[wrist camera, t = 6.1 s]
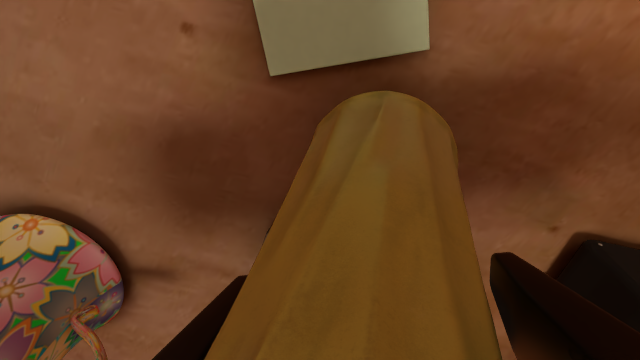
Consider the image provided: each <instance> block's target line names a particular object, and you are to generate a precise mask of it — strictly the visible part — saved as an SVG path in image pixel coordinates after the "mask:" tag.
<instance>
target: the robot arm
mask: <svg viewBox="0 0 640 360" xmlns="http://www.w3.org/2000/svg"><path fill="white" fill-rule="evenodd" d="M247 276H248V275H244V276H238V277H237V278H236V279H235V280H234V281H233V282H231V283H230V284H229V285H228V286H227V287H226V288H225V289H224V290H223V291H222V292H221V293H220V294H219V295H218V296H217V297H216V298H215V299H214V300H213V301H212V302H211V303H210V304H209V305H208V306H207V307H206V308H205V309H204V310H203V311H201V312H200V313H199V314H198V315H197V316H196V317H195V318H194V319H193V320H192V321H191V322H190V323H189V324H188V325H187V326H186V327H185V328H184V329H183V330H182V331H181V332H180V333H179V334H178V335H177V336H176V337H175V338H174V339H173V340H171V341H170V342H169V343H168V344H167V345H166V346H165V347H164V348H163V349H162V350H161V351H160V352H159V353H158V354H157V355H156V356H155V357H154V358H153V359H152V360H204V359H205V357H206V355H207V354H208V352H209V350H210V348H211V346H212V344H213V342H214V340H215V338H216V337H217V335H218V333H219V331H220V329H221V327H222V325H223V324H224V322H225V320H226V318H227V316H228V314H229V312H230V310H231V308H232V306H233V304H234V302H235V300H236V298H237V296H238V294H239V292H240V290H241V288H242V286H243V284H244V282H245V280H246V278H247ZM490 286H491V290H492V293H493V296H494V298H495V301H496V304H497V307H498V310H499V313H500V315H501V318H502V321H503V324H504V327H505V329H506V332H507V335H508V338H509V341H510V343H511V346H512V349H513V351H514V353H515V356H516V358H517V360H640V333H639V332H638V331H636V330H635V329H633V328H631V327H630V326H628V325H627V324H625V323H623V322H622V321H620V320H619V319H617V318H615V317H614V316H612V315H611V314H609V313H607V312H606V311H604V310H603V309H601V308H599V307H598V306H596V305H595V304H593V303H591V302H590V301H588V300H587V299H585V298H583V297H582V296H580V295H579V294H577V293H576V292H574V291H572V290H571V289H569V288H568V287H566V286H564V285H563V284H561V283H560V282H558V281H556V280H555V279H553V278H552V277H550V276H548V275H547V274H545V273H544V272H542V271H540V270H539V269H537V268H536V267H534V266H532V265H531V264H529V263H528V262H526V261H524V260H523V259H521V258H520V257H518V256H516V255H515V254H513V253H511V252H504V253H494V254H493V255H492V257H491V266H490Z"/></svg>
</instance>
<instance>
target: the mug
mask: <svg viewBox="0 0 640 360" xmlns="http://www.w3.org/2000/svg"><path fill="white" fill-rule="evenodd" d="M123 299H124V287H123V281H122V278H121V275H120V272H119V270H118V268H117V266H116V265H115V263H114V262H113V260H112V259H111V258H110V256H109V255H108V254H107V253H106V252H105V251H104V250H103V249H102V248H101V247H100V246H99V245H98V244H97V243H96V242H95V241H93V240H92V239H91V238H89V237H88V236H87V235H85V234H84V233H82V232H80V231H79V230H77V229H75V228H73V227H71V226H69V225H67V224H65V223H63V222H60V221H58V220H55V219H51V218H48V217H44V216H39V215H33V214H8V215H3V216H0V360H62V358H63V357H64V356H65V355H66V354H67V353H68V352H69V351H70V350H71V349H72V348H73V347H74V346H75V345H76V344H77V343H78V342H79V341H81V340H82V339H84V340H85V341H86V342H87V343H88V344H89V346H90V347H91V348H92V350H93V352H94V355H95V358H96V360H108V359H107V355H106V352H105V349H104V347H103V345H102V343H101V341H100V340H99V338H98V337H97V335H96V334H95V333H94V332H93V331H94V330H95V329H97V328H99V327H101V326H103V325H104V324H106V323H108V322H109V321H110V320H111V319H113V318H114V317H115V316H116V315H117V313H118V312H119V310H120V308H121V306H122V303H123Z"/></svg>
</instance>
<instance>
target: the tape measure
mask: <svg viewBox="0 0 640 360" xmlns="http://www.w3.org/2000/svg"><path fill="white" fill-rule="evenodd" d="M556 281H558V282H560V283H561V284H563V285H564V286H566V287H568V288H569V289H571V290H572V291H574V292H576V293H577V294H579V295H580V296H582V297H583V298H585V299H587V300H588V301H590V302H591V303H593V304H595V305H596V306H598V307H599V308H601V309H603V310H604V311H606V312H607V313H609V314H611V315H612V316H614V317H615V318H617V319H619V320H620V321H622V322H623V323H625V324H627V325H628V326H630V327H631V328H633V329H635V330H636V331H638V332H639V333H640V250H637V249H633V248H629V247H624V246H620V245H616V244H610V243H607V242H602V241H597V240H586V241H585V242H584V243H583V244H582V246H581V247H580V248H579V250H578V251H577V252H576V254H575V255H574V257H573V258H572V259H571V261H570V262H569V263H568V265H567V266H566V267H565V269H564V270H563V272H562V273H561V274H560V276H559V277H558V278H557V280H556Z"/></svg>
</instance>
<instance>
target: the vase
mask: <svg viewBox="0 0 640 360" xmlns="http://www.w3.org/2000/svg"><path fill="white" fill-rule="evenodd" d="M204 360H502V356H501V352H500V348H499V344H498V339H497V335H496V331H495V327H494V323H493V319H492V315H491V311H490V307H489V304H488V300H487V297H486V293H485V289H484V285H483V281H482V277H481V272H480V268H479V264H478V259H477V255H476V251H475V247H474V243H473V238H472V233H471V228H470V224H469V220H468V215H467V211H466V207H465V203H464V198H463V194H462V190H461V186H460V182H459V178H458V151H457V146H456V142H455V139H454V136H453V133H452V131H451V128H450V127H449V125H448V124H447V122H446V121H445V120H444V119H443V118H442V117H441V116H440V115H439V114H438V113H437V112H436V111H435V110H434V109H433V108H431V107H430V106H429V105H428V104H426V103H425V102H423V101H421V100H419V99H418V98H415V97H413V96H410V95H407V94H403V93H399V92H394V91H373V92H368V93H363V94H359V95H356V96H353V97H351V98H349V99H346V100H344V101H343V102H342V103H340V104H339V105H337V106H336V107H335V108H334V109H333V110H332V111H331V112H330V113H328V114H327V115H326V116H325V117H324V118H323V119H322V120H321V121H320V122H319V124H318V126H317V128H316V130H315V133H314V135H313V138H312V141H311V144H310V147H309V149H308V151H307V153H306V155H305V157H304V159H303V161H302V163H301V165H300V167H299V170H298V172H297V174H296V176H295V178H294V180H293V183H292V185H291V187H290V189H289V191H288V193H287V195H286V197H285V200H284V202H283V204H282V206H281V208H280V210H279V212H278V214H277V216H276V218H275V220H274V223H273V225H272V227H271V229H270V231H269V233H268V235H267V237H266V239H265V241H264V244H263V246H262V248H261V250H260V252H259V254H258V256H257V258H256V260H255V262H254V264H253V266H252V268H251V270H250V272H249V274H248V276H247V278H246V280H245V282H244V284H243V286H242V288H241V290H240V292H239V294H238V296H237V298H236V300H235V302H234V304H233V306H232V308H231V310H230V312H229V314H228V316H227V318H226V320H225V322H224V324H223V325H222V327H221V329H220V331H219V333H218V335H217V337H216V338H215V340H214V342H213V344H212V346H211V348H210V350H209V352H208V354H207V355H206V357H205V359H204Z"/></svg>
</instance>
